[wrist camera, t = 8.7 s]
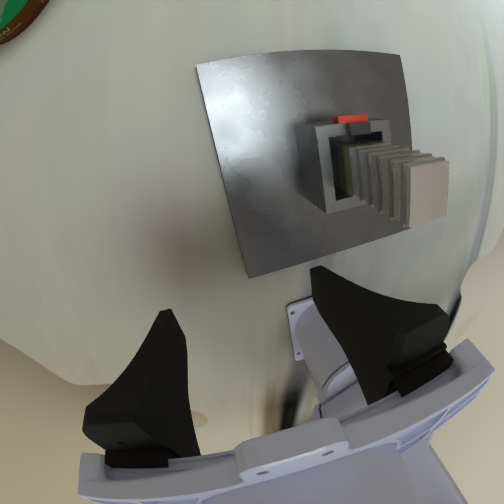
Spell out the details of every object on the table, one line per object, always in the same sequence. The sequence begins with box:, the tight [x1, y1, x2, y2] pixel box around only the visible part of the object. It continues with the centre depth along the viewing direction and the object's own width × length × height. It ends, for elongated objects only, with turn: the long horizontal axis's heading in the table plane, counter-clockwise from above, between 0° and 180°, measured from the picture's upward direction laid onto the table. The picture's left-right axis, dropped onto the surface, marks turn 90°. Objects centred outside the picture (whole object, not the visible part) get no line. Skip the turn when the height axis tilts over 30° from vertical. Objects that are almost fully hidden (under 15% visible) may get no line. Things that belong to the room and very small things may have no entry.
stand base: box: [196, 50, 412, 278], centre depth 19 cm, size 18×18×6 cm
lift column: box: [330, 139, 449, 228], centre depth 14 cm, size 3×3×8 cm
